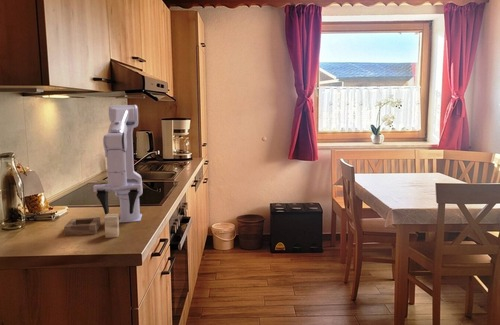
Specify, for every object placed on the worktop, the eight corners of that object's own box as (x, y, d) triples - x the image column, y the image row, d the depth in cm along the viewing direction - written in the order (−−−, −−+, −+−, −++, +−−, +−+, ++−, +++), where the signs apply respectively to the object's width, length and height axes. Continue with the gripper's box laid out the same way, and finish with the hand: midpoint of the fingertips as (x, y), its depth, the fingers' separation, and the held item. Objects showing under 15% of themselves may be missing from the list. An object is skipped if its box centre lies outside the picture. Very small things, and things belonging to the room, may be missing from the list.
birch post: (107, 234, 141) (106, 214, 140) (119, 233, 142) (118, 213, 141) (105, 237, 137) (104, 217, 136) (117, 236, 138) (116, 216, 137)
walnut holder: (71, 226, 150) (71, 218, 149) (100, 225, 151) (100, 217, 151) (64, 235, 140) (64, 227, 139) (95, 233, 142) (95, 225, 141)
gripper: (89, 173, 124) (92, 217, 126) (138, 172, 126) (140, 216, 128) (95, 170, 131) (98, 211, 133) (142, 169, 132) (144, 210, 135)
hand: (119, 213), depth 131 cm, fingers open, 7 cm apart
